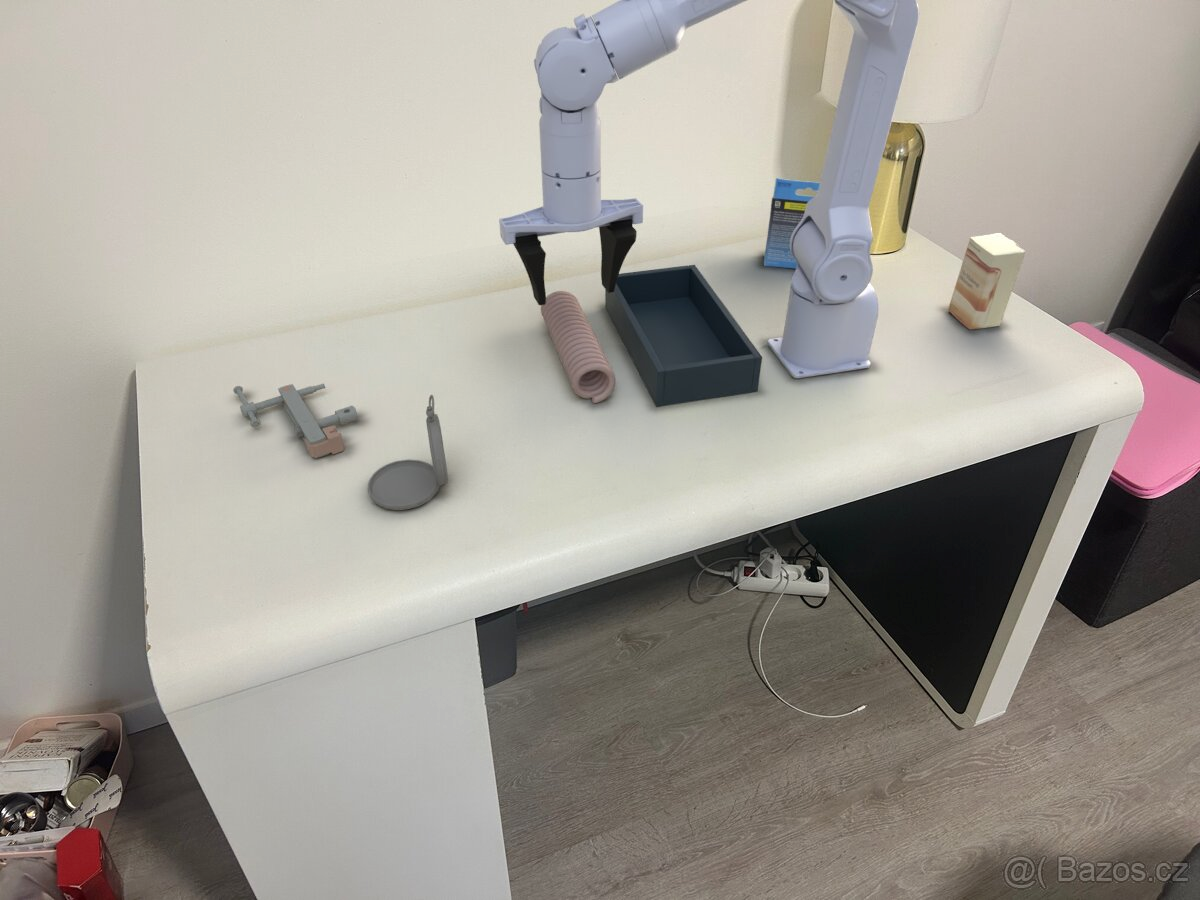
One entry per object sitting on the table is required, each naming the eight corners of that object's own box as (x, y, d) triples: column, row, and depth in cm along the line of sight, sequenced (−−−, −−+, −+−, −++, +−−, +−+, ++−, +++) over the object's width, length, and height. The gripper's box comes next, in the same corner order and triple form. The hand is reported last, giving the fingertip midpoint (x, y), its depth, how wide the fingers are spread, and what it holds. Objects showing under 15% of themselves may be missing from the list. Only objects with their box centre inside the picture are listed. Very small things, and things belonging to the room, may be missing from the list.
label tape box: (829, 260, 117) (845, 173, 109) (828, 274, 114) (845, 184, 106) (765, 254, 118) (776, 167, 110) (762, 267, 115) (774, 179, 107)
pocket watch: (355, 491, 80) (334, 405, 74) (426, 450, 85) (412, 366, 78) (408, 532, 76) (390, 445, 69) (480, 486, 80) (469, 401, 74)
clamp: (368, 424, 84) (268, 458, 80) (372, 441, 86) (273, 476, 82) (320, 355, 94) (228, 383, 90) (324, 371, 96) (234, 399, 92)
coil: (619, 366, 88) (578, 286, 102) (575, 369, 87) (540, 288, 101) (614, 403, 91) (575, 320, 105) (572, 406, 90) (538, 322, 103)
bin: (692, 296, 109) (694, 264, 106) (757, 391, 92) (762, 356, 90) (605, 307, 107) (605, 275, 104) (656, 407, 90) (657, 371, 87)
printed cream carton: (945, 310, 106) (967, 235, 100) (977, 306, 107) (1001, 231, 100) (969, 331, 102) (993, 254, 96) (1001, 327, 103) (1028, 250, 96)
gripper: (626, 145, 86) (624, 267, 95) (487, 163, 82) (498, 288, 91) (653, 169, 81) (648, 295, 90) (506, 190, 77) (516, 320, 86)
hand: (574, 294), depth 90 cm, fingers open, 7 cm apart
